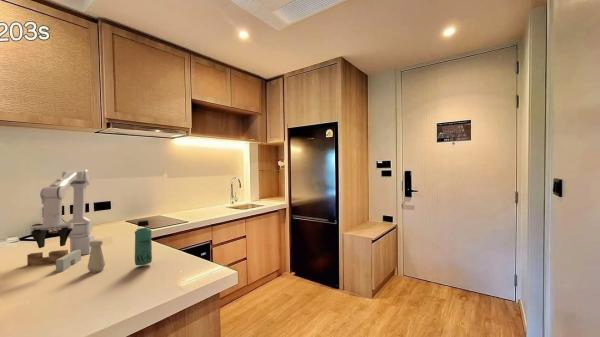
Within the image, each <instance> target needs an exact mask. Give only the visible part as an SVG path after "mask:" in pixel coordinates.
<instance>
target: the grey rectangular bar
mask: <svg viewBox="0 0 600 337" xmlns="http://www.w3.org/2000/svg"><path fill="white" fill-rule="evenodd" d="M81 260H82V255H81V250H74V251H72V252H70V251H69V252H68V254H67V255H65V256H63V257H61V258H59V259H57V260H56V263H55V272H56V273H60V272H64V271H66V270H68V269H69V268H71V267H72V266H71V265H76V264H78V263H79V262H80V261H81Z"/></svg>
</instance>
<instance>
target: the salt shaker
mask: <svg viewBox="0 0 600 337" xmlns="http://www.w3.org/2000/svg"><path fill="white" fill-rule="evenodd" d="M102 245H103V240H102V239H100V238H99V239H94V240H93V241H91V242H90V247H91V252H90V253H89V258H88V263H87V270H88V271H89V273H91V274H95V273H100V272H102V271H103V270H104V268H105V265H106V263H105V259H104V254H103V249H102Z"/></svg>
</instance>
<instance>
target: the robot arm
mask: <svg viewBox="0 0 600 337" xmlns="http://www.w3.org/2000/svg"><path fill="white" fill-rule="evenodd" d="M90 183H91V173H90V171H89V169H86V168H85V169H64V170H63V171H62V174H61V178H57V179H56V180H55V181H53V182H52V183H51V184H50V185H49V186H44V187H43V188H41V190H40V193H39V196H40V199H41V204H42V206H43V207H42V208H43V210H42V211H43V212H42V214H43V216H42V218H43V219H42V224H40V225H32V226H29V227H30V228H29V231H30V234H31V236H32V237H33V239H35V241H36V245H37V247H38V249H42V248H44V247H45V244H46V243H45V242H46V235H47V232H48V231H49V230H57V232H58V235H59V246H60V247H63V246H66V243H67V240H68V239H69V253H70V252H72V251H74V250H81V256H82V255H90V252H91V247H90V242H91V241H93V240H95V236H94V235H91V234H92V232H93V223H92V220H91V219H90V218H89V217H88V218H87V217H86V190H87V186H89V185H90ZM71 187H72V188H73V198H72V199H73V202H72V203H73V205H72V206H73V207H72V218H71V219H69V220H68V221H67V222H66V223H62V222H63V221H62V219H63V218H62V215H63V212H62V211H63V199H64V198H65V196H66V193H67V191H68V189H69V188H71Z"/></svg>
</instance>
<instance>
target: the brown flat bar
mask: <svg viewBox="0 0 600 337" xmlns="http://www.w3.org/2000/svg"><path fill="white" fill-rule="evenodd" d="M43 253H44V252H43V251H42V252H31V253H28V254H27V258H26V260H27V261H26V262H27V265H26V266H28V267H29V266H37V264H40V265H47V264H46V263H49V264H56V260H57V259H59V258H61V257H63V256H65V255H67V254H69V249H61V250H60V249H59V250H52V251H50V252H48V256H43V255H44V254H43Z"/></svg>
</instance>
